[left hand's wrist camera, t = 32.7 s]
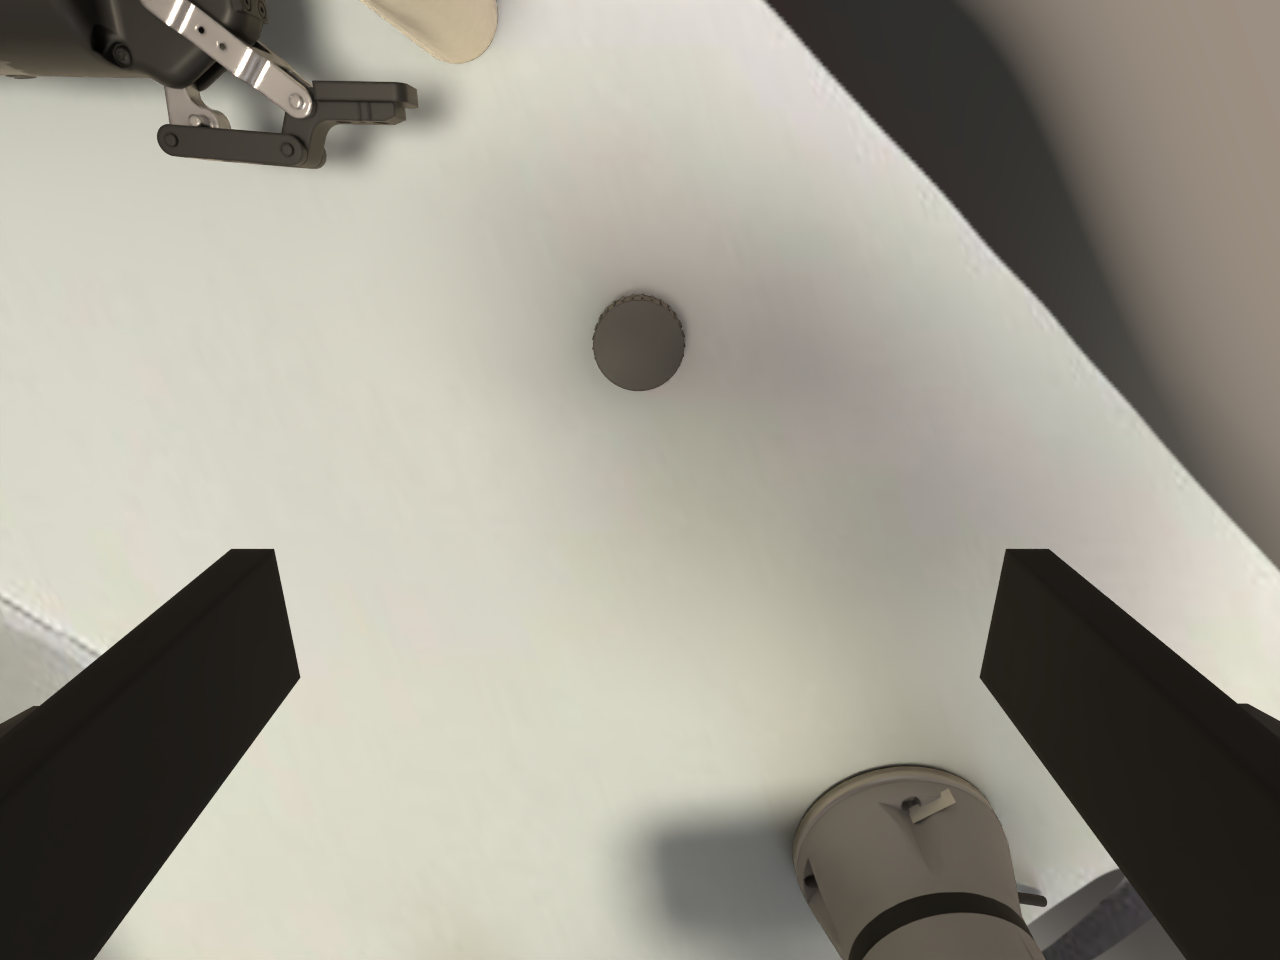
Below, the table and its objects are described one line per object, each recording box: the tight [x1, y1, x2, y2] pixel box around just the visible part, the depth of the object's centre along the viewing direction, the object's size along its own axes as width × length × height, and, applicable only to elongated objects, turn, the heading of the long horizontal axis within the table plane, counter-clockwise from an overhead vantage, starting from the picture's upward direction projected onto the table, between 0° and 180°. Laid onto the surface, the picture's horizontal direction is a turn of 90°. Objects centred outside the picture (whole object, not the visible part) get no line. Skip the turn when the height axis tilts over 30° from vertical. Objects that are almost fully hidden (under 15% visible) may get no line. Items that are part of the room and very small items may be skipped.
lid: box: [592, 294, 685, 391], centre depth 38 cm, size 5×5×2 cm
